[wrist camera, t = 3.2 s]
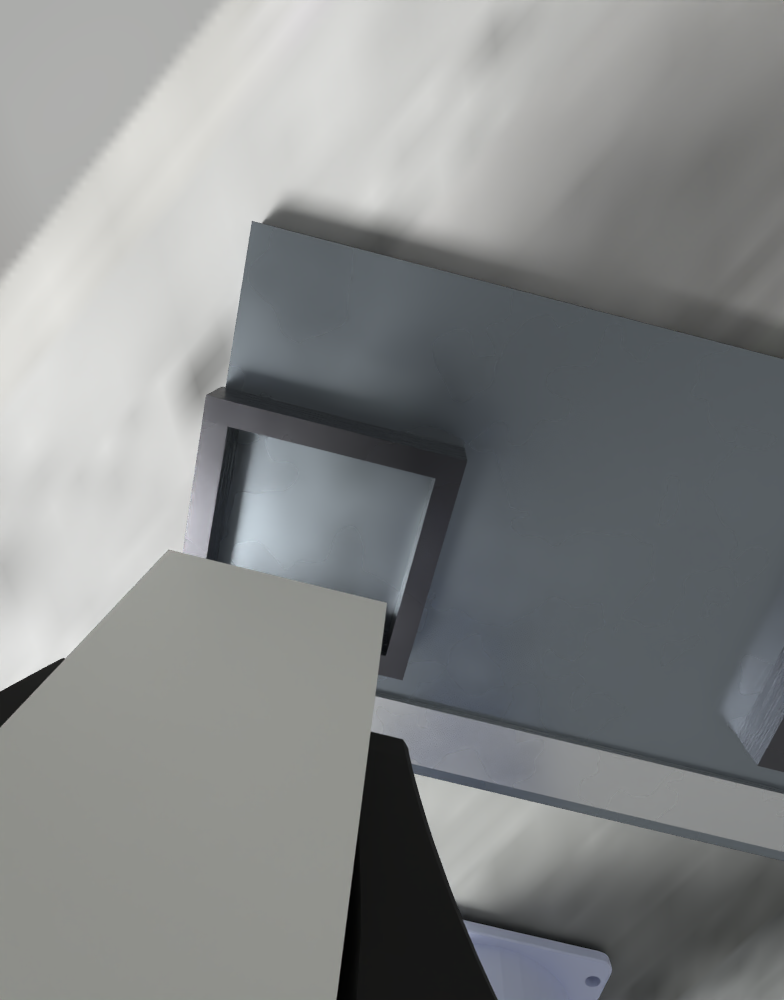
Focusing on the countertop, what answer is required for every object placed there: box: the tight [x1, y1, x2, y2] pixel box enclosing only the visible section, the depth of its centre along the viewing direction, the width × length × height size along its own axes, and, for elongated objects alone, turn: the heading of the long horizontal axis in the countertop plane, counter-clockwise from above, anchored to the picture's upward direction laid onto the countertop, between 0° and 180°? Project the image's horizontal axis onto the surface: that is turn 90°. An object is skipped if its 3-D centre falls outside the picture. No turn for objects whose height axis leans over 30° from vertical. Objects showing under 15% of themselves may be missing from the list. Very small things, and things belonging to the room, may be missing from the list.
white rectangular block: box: [0, 550, 387, 1000], centre depth 7 cm, size 4×4×8 cm
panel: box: [183, 221, 784, 861], centre depth 17 cm, size 14×22×2 cm, turn 76°
